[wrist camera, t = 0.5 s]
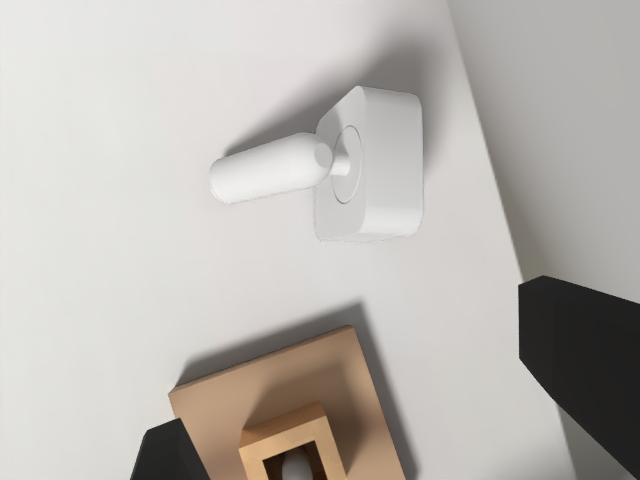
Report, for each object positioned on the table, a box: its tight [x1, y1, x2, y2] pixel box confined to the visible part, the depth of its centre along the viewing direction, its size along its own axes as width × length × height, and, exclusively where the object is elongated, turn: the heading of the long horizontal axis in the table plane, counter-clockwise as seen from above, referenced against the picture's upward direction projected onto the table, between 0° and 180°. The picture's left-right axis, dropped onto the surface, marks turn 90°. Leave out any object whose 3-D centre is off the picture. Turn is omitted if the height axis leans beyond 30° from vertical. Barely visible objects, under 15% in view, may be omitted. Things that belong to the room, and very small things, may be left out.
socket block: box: [168, 325, 406, 480], centre depth 29 cm, size 12×12×6 cm
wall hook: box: [208, 86, 424, 243], centre depth 29 cm, size 8×10×10 cm
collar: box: [238, 400, 347, 480], centre depth 28 cm, size 5×5×4 cm
